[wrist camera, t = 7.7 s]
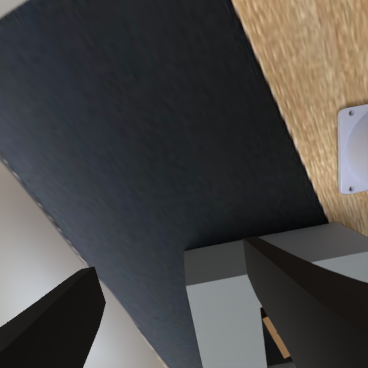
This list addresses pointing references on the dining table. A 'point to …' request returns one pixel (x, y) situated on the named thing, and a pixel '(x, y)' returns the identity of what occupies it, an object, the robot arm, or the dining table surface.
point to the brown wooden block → (274, 333)
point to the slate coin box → (246, 298)
